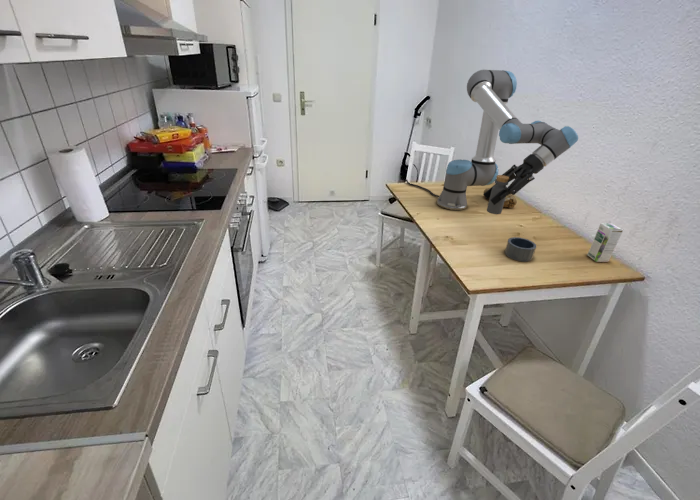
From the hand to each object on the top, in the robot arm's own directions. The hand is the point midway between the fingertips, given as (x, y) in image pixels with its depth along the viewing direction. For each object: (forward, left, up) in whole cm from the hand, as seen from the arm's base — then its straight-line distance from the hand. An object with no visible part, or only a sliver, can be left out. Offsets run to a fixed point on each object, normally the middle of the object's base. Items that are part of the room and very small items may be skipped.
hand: (488, 199), depth 147 cm
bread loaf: (-14, +54, -19) cm, 59 cm away
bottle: (+2, +3, -6) cm, 7 cm away
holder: (+17, -1, -18) cm, 25 cm away
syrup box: (+41, +21, -19) cm, 50 cm away
